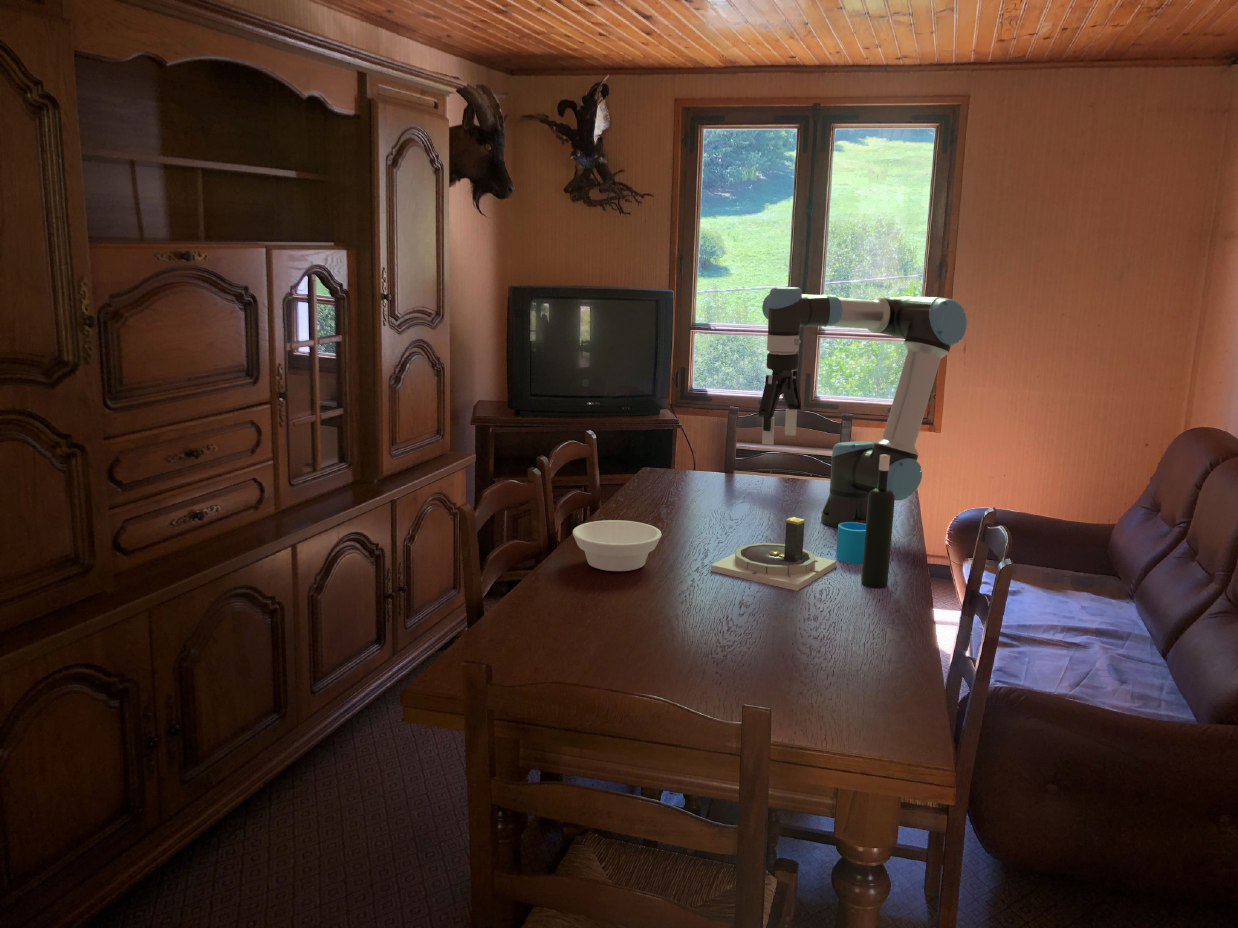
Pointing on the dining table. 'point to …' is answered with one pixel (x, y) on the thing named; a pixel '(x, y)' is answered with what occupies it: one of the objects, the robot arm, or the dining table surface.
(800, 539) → the dial
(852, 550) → the mug
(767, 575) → the dial board
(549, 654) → the dining table surface
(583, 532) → the bowl
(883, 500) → the wine bottle
